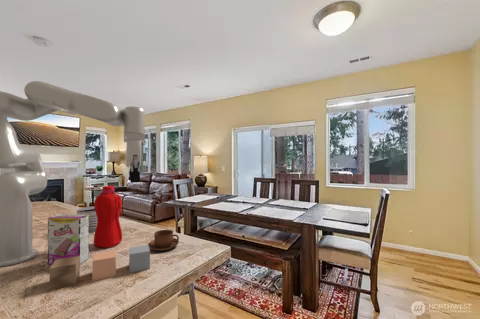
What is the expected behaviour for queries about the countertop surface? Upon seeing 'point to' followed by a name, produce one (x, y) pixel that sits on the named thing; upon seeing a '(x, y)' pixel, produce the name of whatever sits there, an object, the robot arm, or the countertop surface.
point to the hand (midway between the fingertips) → (134, 181)
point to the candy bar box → (68, 237)
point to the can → (92, 217)
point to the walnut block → (64, 272)
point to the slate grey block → (139, 258)
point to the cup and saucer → (163, 240)
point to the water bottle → (108, 218)
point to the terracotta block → (104, 265)
